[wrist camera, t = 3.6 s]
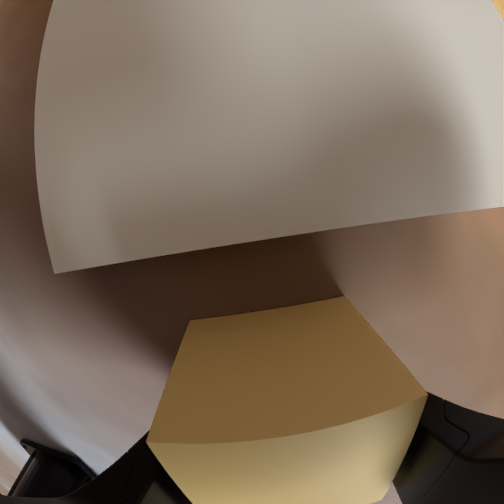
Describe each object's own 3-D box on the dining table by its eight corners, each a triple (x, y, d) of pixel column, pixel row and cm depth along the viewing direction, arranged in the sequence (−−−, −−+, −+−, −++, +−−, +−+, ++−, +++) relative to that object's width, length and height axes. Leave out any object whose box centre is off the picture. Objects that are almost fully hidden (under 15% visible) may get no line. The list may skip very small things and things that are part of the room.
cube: (221, 423, 10) (215, 527, 5) (189, 320, 8) (145, 442, 4) (342, 404, 10) (382, 499, 5) (344, 296, 8) (427, 394, 4)
